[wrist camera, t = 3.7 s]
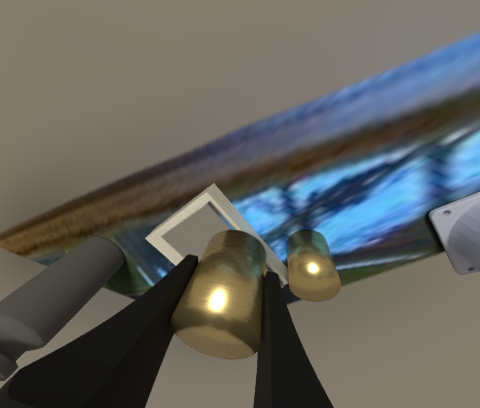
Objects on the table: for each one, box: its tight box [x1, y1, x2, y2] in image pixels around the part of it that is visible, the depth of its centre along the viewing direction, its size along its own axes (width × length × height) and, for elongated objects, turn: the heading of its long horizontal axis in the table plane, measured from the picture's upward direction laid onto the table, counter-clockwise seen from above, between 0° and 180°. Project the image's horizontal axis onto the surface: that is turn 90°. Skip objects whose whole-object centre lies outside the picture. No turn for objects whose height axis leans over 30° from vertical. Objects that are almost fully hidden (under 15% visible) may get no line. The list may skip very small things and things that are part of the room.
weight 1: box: [171, 230, 266, 359], centre depth 10 cm, size 4×4×5 cm
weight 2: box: [287, 230, 341, 301], centre depth 17 cm, size 4×4×5 cm
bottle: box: [0, 237, 125, 381], centre depth 20 cm, size 6×6×15 cm
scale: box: [145, 184, 289, 285], centre depth 21 cm, size 10×13×2 cm
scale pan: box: [161, 200, 284, 288], centre depth 19 cm, size 7×12×1 cm, turn 40°
